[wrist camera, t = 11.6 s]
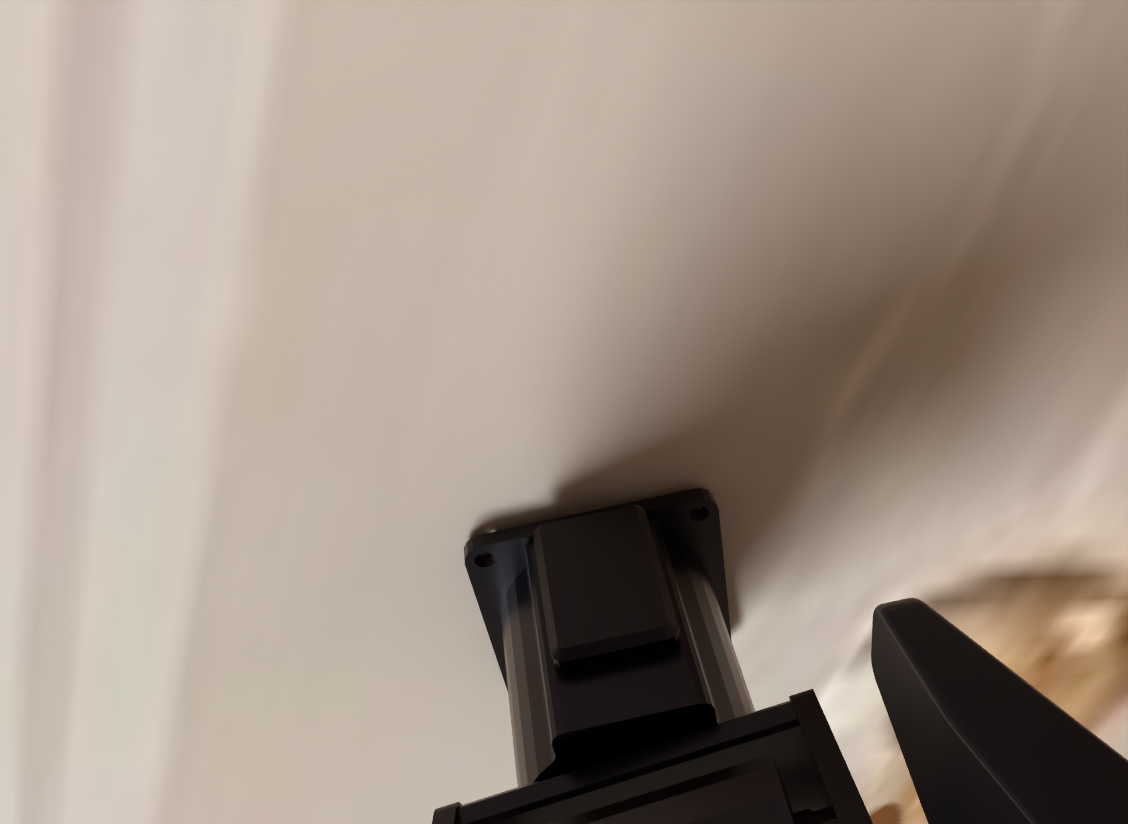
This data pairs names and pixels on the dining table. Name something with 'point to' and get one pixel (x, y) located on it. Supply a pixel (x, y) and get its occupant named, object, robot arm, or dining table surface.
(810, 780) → the robot arm
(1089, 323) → the dining table surface
